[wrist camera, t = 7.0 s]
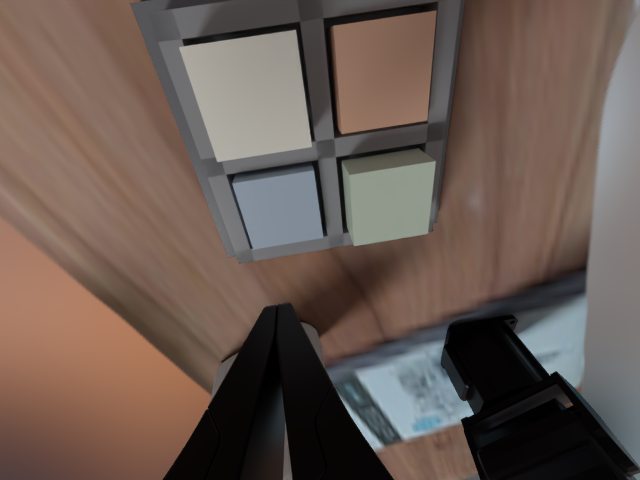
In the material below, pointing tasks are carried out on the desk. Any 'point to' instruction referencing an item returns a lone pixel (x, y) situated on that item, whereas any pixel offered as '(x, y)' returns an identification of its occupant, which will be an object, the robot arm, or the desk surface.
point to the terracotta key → (381, 71)
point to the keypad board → (327, 141)
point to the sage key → (388, 195)
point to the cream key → (250, 94)
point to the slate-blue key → (279, 204)
